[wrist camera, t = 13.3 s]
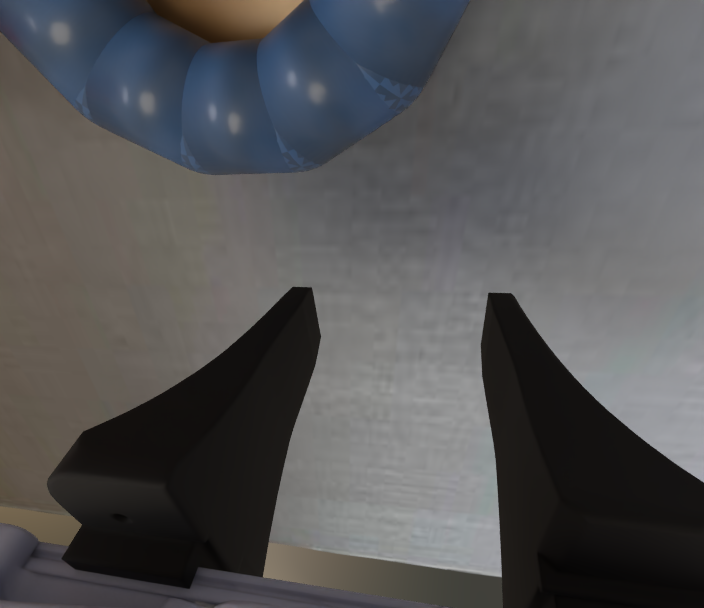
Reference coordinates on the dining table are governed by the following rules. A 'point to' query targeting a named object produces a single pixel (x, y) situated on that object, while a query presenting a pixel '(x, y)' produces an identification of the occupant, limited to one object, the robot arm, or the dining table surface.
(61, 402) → the dining table surface
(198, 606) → the robot arm
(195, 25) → the stand
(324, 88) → the ring
